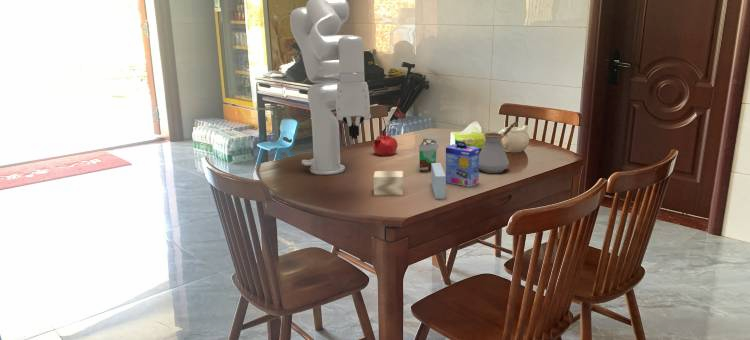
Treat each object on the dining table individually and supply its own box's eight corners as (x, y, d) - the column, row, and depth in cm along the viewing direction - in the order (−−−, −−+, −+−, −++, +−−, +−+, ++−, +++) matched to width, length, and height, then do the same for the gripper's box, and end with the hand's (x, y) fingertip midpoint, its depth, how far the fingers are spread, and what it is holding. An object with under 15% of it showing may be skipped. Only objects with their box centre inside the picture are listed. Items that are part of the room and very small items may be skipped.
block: (373, 195, 180) (373, 177, 178) (375, 189, 187) (375, 171, 185) (402, 195, 179) (402, 177, 178) (403, 189, 186) (403, 171, 184)
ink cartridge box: (444, 182, 191) (444, 139, 187) (453, 179, 195) (453, 136, 191) (470, 187, 185) (471, 143, 181) (479, 183, 189) (480, 140, 185)
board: (435, 198, 175) (435, 176, 173) (431, 183, 190) (431, 163, 189) (445, 198, 175) (445, 176, 173) (440, 183, 190) (440, 162, 188)
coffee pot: (498, 176, 197) (499, 133, 193) (469, 171, 204) (470, 129, 200) (528, 164, 212) (530, 123, 208) (500, 159, 219) (502, 120, 216)
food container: (436, 173, 202) (436, 145, 200) (419, 173, 203) (419, 145, 201) (440, 164, 214) (440, 138, 211) (423, 164, 215) (423, 137, 212)
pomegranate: (398, 151, 236) (398, 129, 234) (396, 157, 227) (396, 134, 224) (374, 151, 237) (374, 128, 235) (371, 156, 228) (371, 133, 226)
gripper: (326, 80, 170) (329, 141, 175) (376, 78, 170) (378, 140, 174) (328, 77, 177) (331, 136, 182) (377, 76, 177) (378, 135, 182)
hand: (354, 138), depth 178 cm, fingers closed
